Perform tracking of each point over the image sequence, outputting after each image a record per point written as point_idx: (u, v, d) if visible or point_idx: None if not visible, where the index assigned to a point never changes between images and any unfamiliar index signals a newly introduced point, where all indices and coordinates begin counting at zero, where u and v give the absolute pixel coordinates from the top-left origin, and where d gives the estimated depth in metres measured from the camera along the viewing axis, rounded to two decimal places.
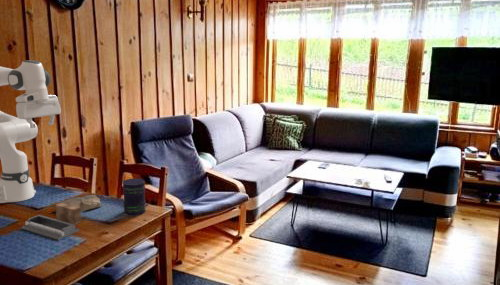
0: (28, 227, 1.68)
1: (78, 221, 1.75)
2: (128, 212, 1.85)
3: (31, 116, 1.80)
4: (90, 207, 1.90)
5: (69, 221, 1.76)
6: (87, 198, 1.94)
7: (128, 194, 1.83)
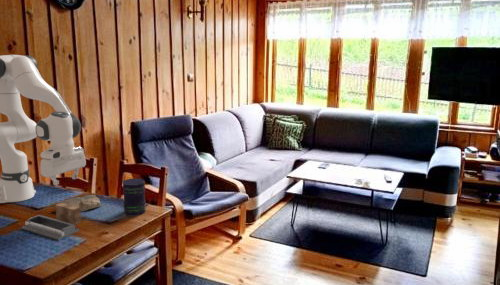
0: (28, 227, 1.68)
1: (78, 221, 1.75)
2: (128, 212, 1.85)
3: (56, 173, 1.67)
4: (90, 207, 1.90)
5: (69, 221, 1.76)
6: (87, 198, 1.94)
7: (128, 194, 1.83)
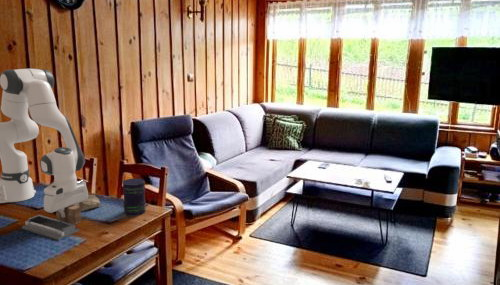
0: (28, 227, 1.68)
1: (78, 221, 1.75)
2: (128, 212, 1.85)
3: (59, 208, 1.71)
4: (89, 207, 1.90)
5: (69, 221, 1.76)
6: None
7: (128, 194, 1.83)
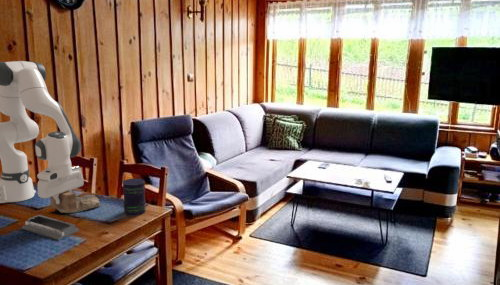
0: (28, 227, 1.68)
1: (73, 207, 1.70)
2: (128, 212, 1.85)
3: (53, 194, 1.66)
4: (89, 207, 1.90)
5: (64, 207, 1.71)
6: (86, 198, 1.94)
7: (128, 194, 1.83)
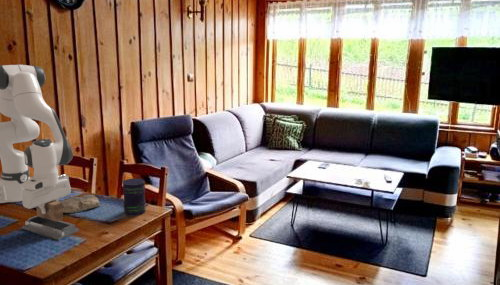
0: (28, 227, 1.68)
1: (60, 217, 1.65)
2: (128, 212, 1.85)
3: (38, 204, 1.60)
4: (89, 207, 1.90)
5: (50, 217, 1.65)
6: (86, 198, 1.94)
7: (128, 194, 1.83)
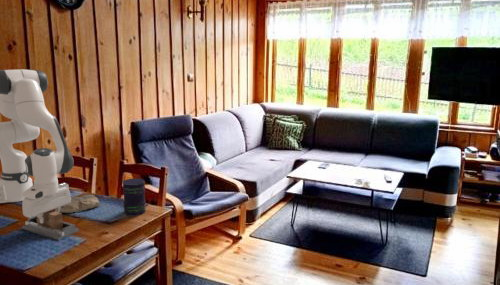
0: (28, 227, 1.68)
1: (60, 227, 1.66)
2: (128, 212, 1.85)
3: (38, 213, 1.61)
4: (89, 207, 1.91)
5: None
6: (85, 198, 1.94)
7: (128, 194, 1.83)
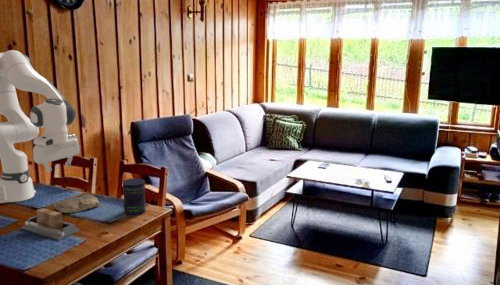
0: (28, 227, 1.68)
1: (60, 227, 1.66)
2: (128, 212, 1.85)
3: (48, 160, 1.67)
4: (89, 207, 1.91)
5: None
6: (85, 198, 1.94)
7: (128, 194, 1.83)
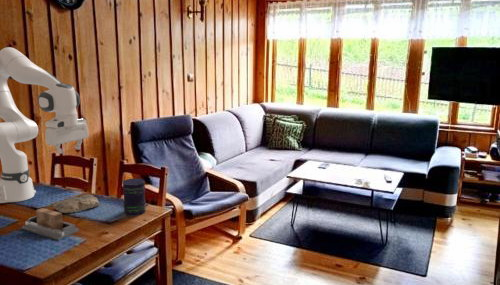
0: (28, 227, 1.68)
1: (60, 227, 1.66)
2: (128, 212, 1.85)
3: (60, 142, 1.74)
4: (88, 206, 1.91)
5: None
6: (85, 198, 1.94)
7: (128, 194, 1.83)
